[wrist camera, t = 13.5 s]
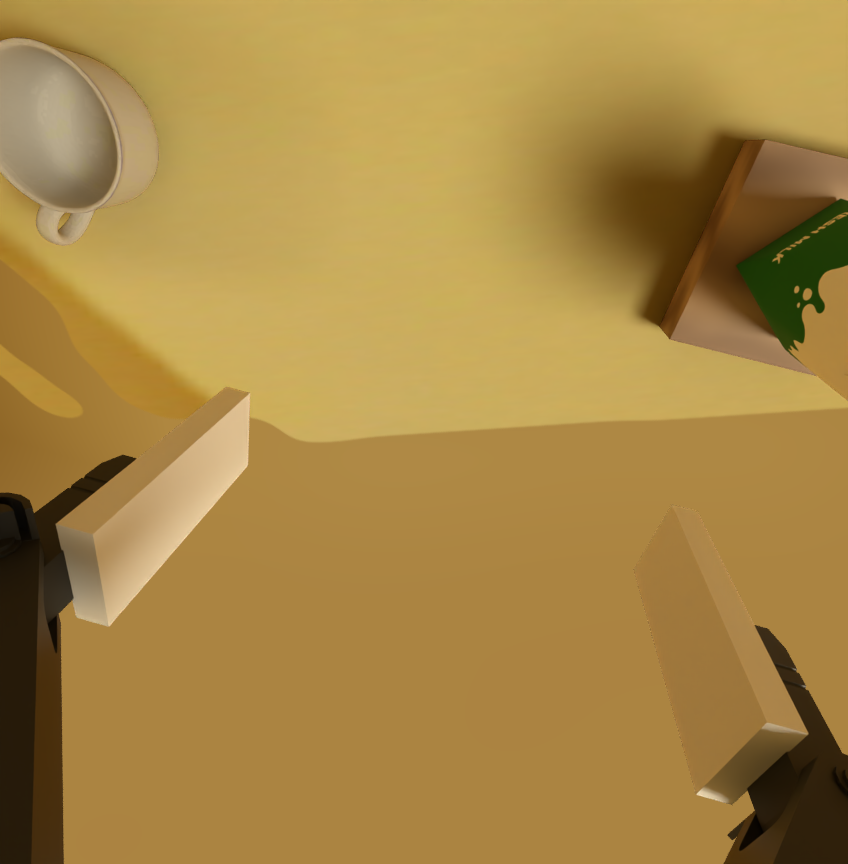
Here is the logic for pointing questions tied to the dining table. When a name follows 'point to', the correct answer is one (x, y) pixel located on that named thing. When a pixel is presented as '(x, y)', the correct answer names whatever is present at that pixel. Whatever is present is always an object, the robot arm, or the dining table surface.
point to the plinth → (750, 248)
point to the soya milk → (808, 292)
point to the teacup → (71, 135)
